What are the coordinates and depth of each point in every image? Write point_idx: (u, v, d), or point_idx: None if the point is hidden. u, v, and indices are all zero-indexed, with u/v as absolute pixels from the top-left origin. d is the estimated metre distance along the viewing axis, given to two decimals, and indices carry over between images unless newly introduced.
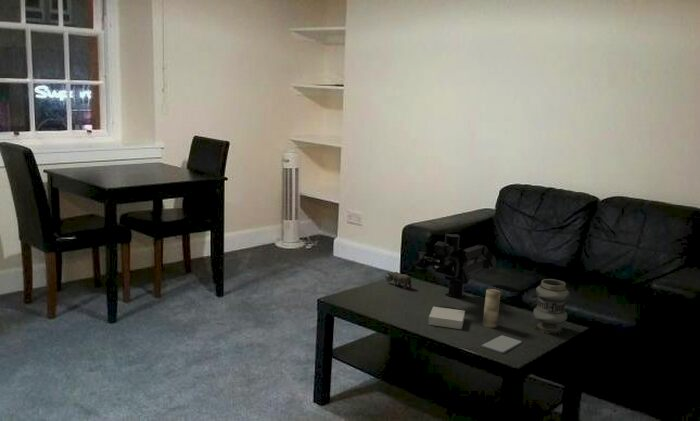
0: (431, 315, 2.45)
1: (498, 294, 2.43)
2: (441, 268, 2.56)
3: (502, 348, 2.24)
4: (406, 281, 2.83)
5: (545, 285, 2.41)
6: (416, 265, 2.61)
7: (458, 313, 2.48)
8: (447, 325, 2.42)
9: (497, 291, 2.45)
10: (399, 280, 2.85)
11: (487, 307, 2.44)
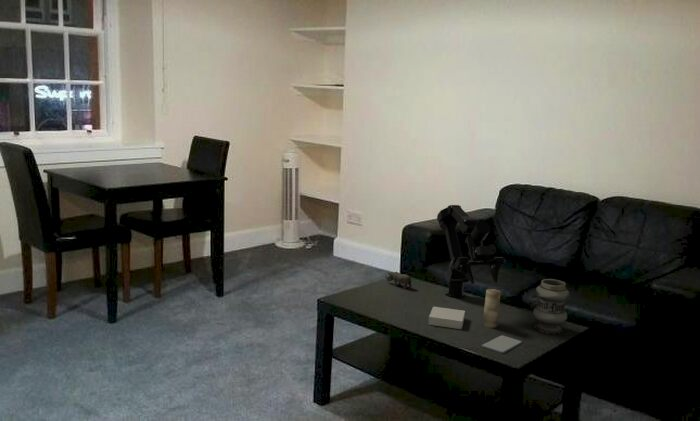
0: (431, 315, 2.45)
1: (498, 294, 2.43)
2: None
3: (502, 348, 2.24)
4: (406, 281, 2.83)
5: (545, 285, 2.41)
6: None
7: (458, 313, 2.48)
8: (447, 325, 2.42)
9: (497, 291, 2.45)
10: (399, 280, 2.85)
11: (487, 307, 2.44)
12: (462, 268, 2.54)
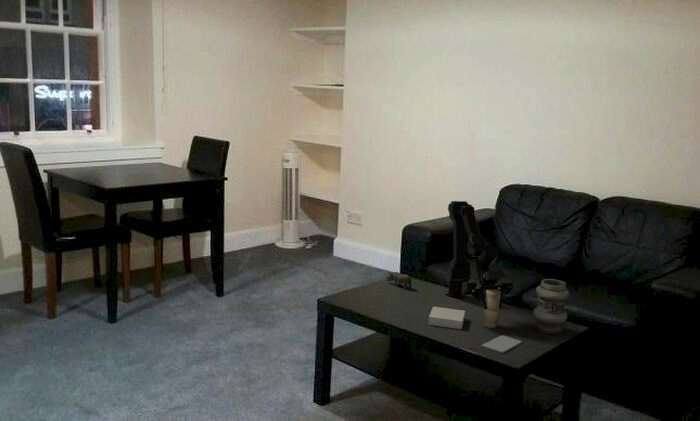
0: (431, 315, 2.45)
1: (498, 294, 2.43)
2: None
3: (502, 348, 2.24)
4: (406, 281, 2.83)
5: (545, 285, 2.41)
6: None
7: (458, 313, 2.48)
8: (447, 325, 2.42)
9: (497, 291, 2.45)
10: (399, 280, 2.85)
11: (487, 307, 2.44)
12: (474, 293, 2.47)
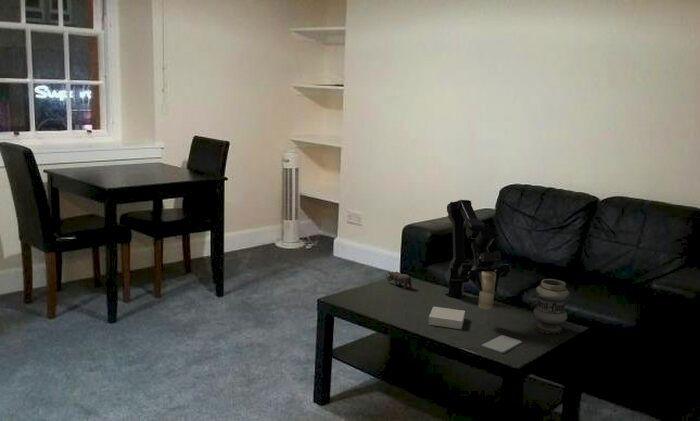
0: (431, 315, 2.45)
1: (493, 276, 2.41)
2: None
3: (502, 348, 2.24)
4: (406, 281, 2.83)
5: (545, 285, 2.41)
6: None
7: (458, 313, 2.48)
8: (447, 325, 2.42)
9: (493, 273, 2.43)
10: (399, 280, 2.85)
11: (482, 289, 2.43)
12: (470, 275, 2.46)
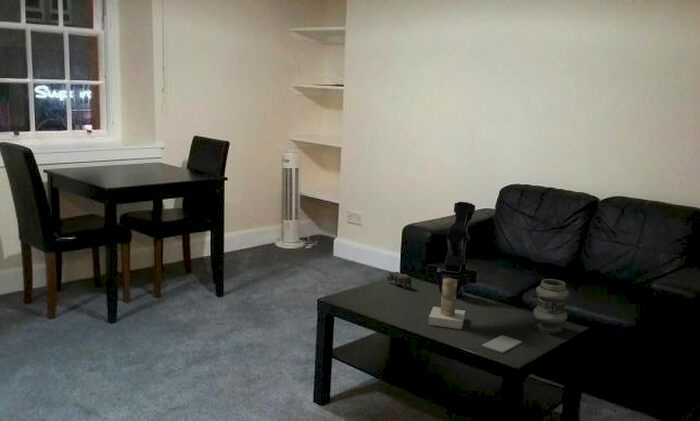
0: (431, 315, 2.45)
1: (452, 282, 2.43)
2: (460, 288, 2.45)
3: (502, 348, 2.24)
4: (406, 281, 2.83)
5: (545, 285, 2.41)
6: None
7: (458, 313, 2.48)
8: (447, 325, 2.42)
9: (454, 280, 2.45)
10: (399, 280, 2.85)
11: (442, 295, 2.46)
12: (435, 276, 2.50)
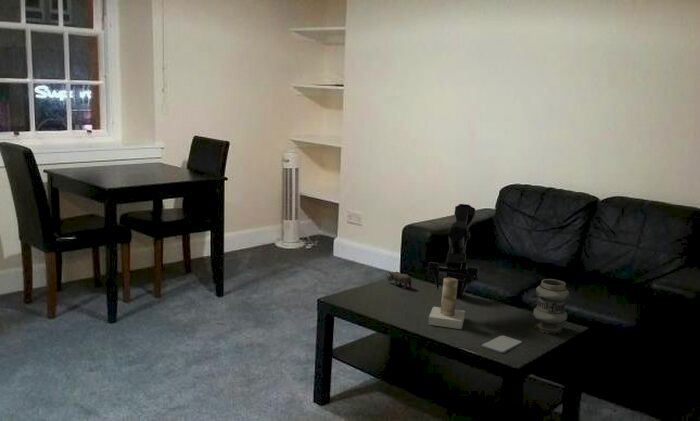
0: (431, 315, 2.45)
1: (452, 283, 2.43)
2: (466, 286, 2.49)
3: (502, 348, 2.24)
4: (406, 281, 2.83)
5: (545, 285, 2.41)
6: (438, 288, 2.51)
7: (458, 313, 2.48)
8: (447, 325, 2.42)
9: (454, 280, 2.45)
10: (399, 280, 2.85)
11: (442, 295, 2.46)
12: (432, 273, 2.54)
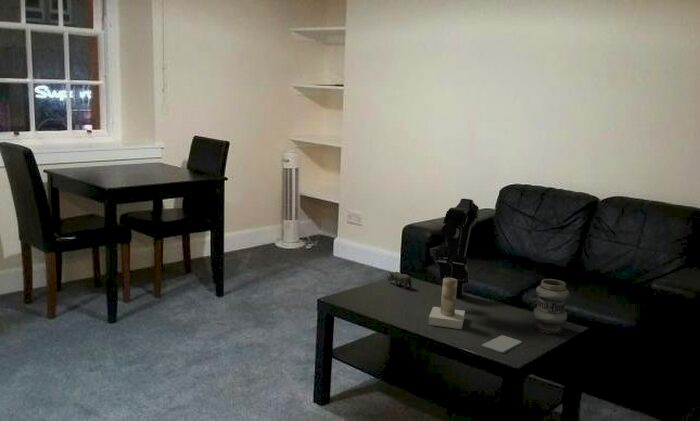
0: (431, 315, 2.45)
1: (452, 283, 2.43)
2: (453, 274, 2.54)
3: (502, 348, 2.24)
4: (406, 281, 2.83)
5: (545, 285, 2.41)
6: (442, 278, 2.64)
7: (458, 313, 2.48)
8: (447, 325, 2.42)
9: (454, 280, 2.44)
10: (399, 280, 2.85)
11: (442, 295, 2.46)
12: None
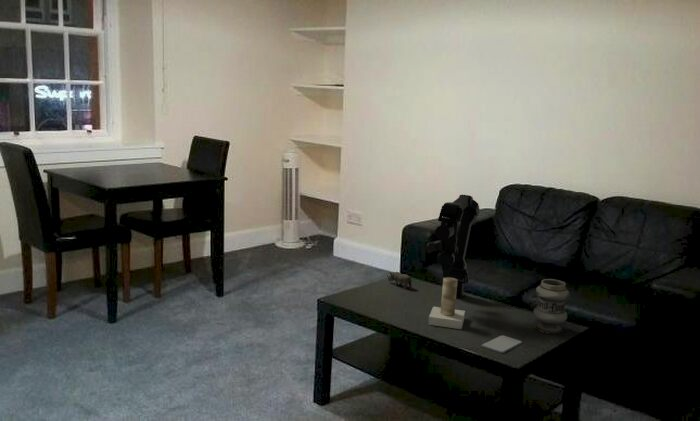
0: (431, 315, 2.45)
1: (452, 282, 2.43)
2: (443, 271, 2.57)
3: (502, 348, 2.24)
4: (406, 281, 2.83)
5: (545, 285, 2.41)
6: None
7: (458, 313, 2.48)
8: (447, 325, 2.42)
9: (454, 280, 2.45)
10: (399, 280, 2.85)
11: (442, 294, 2.46)
12: None
